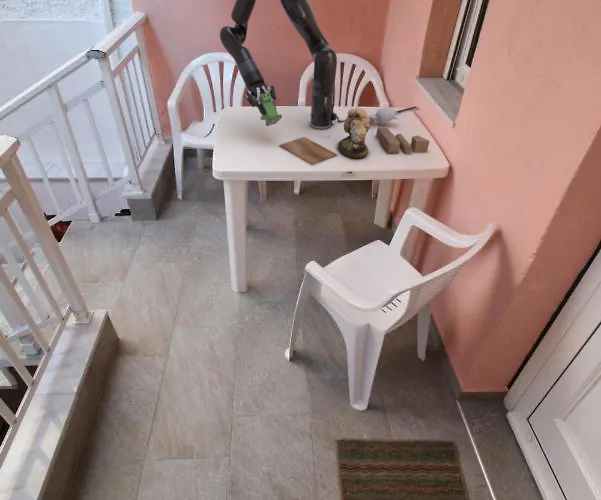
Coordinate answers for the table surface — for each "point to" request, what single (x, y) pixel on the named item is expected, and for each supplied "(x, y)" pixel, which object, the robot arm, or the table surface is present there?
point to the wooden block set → (400, 142)
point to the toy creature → (383, 116)
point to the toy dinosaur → (269, 110)
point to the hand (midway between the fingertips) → (269, 112)
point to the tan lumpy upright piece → (355, 134)
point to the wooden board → (308, 150)
